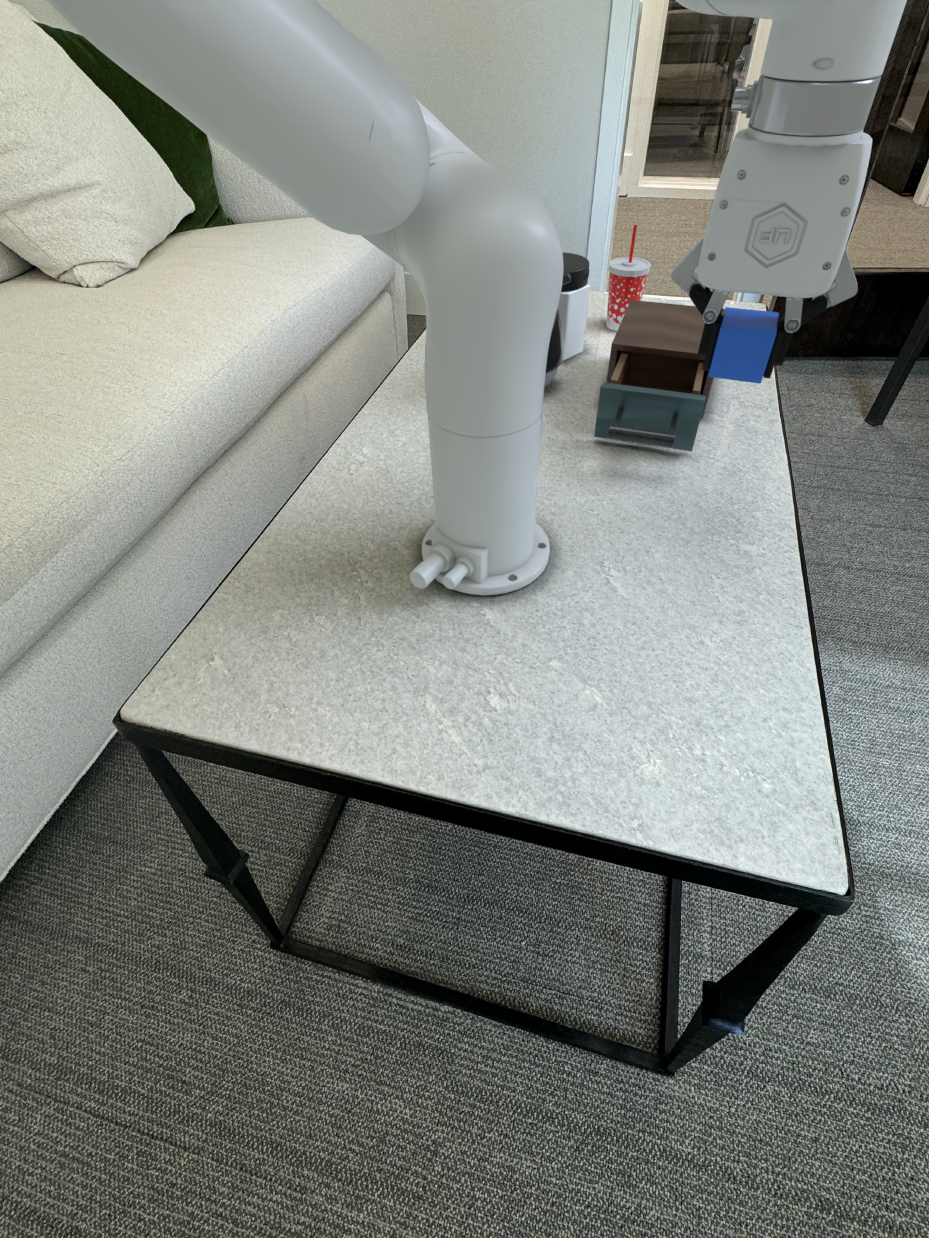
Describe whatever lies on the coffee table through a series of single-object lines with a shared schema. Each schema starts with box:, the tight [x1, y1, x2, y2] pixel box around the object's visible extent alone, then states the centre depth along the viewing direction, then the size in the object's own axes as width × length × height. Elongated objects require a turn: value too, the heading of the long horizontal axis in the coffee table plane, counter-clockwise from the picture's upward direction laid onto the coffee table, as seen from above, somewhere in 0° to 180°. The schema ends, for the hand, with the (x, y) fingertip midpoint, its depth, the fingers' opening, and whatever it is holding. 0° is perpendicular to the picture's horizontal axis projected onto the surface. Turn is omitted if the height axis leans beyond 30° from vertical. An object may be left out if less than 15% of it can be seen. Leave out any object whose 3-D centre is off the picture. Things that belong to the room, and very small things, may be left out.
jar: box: [558, 252, 591, 362], centre depth 92 cm, size 9×8×12 cm
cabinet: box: [605, 300, 725, 420], centre depth 84 cm, size 15×13×8 cm
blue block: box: [708, 306, 780, 385], centre depth 56 cm, size 4×4×4 cm
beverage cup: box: [605, 224, 652, 332], centre depth 96 cm, size 6×6×14 cm
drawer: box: [593, 351, 706, 452], centre depth 76 cm, size 20×11×6 cm, turn 161°
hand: (737, 365), depth 57 cm, fingers closed on blue block, 4 cm apart
